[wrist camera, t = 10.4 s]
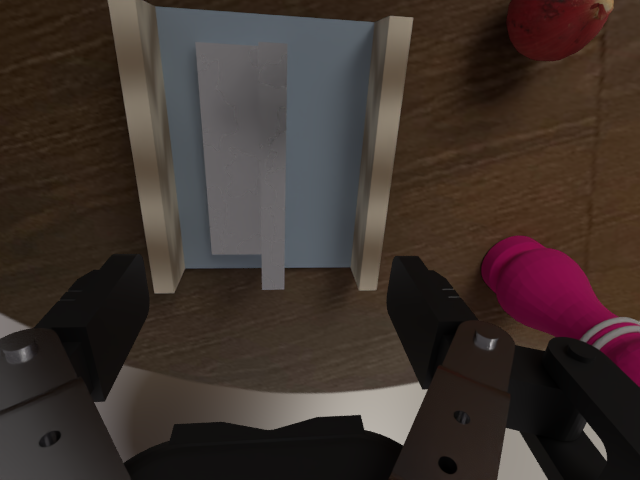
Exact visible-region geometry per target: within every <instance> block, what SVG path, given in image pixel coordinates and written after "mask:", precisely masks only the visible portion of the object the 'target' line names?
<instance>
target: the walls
mask: <svg viewBox="0 0 640 480" xmlns="http://www.w3.org/2000/svg"><path fill="white" fill-rule="evenodd" d="M108 4H109V10H110V17H111V23H112V29H113V35H114V42H115V48H116V54H117V61H118V67H119V73H120V79H121V86H122V92H123V98H124V105H125V111H126V117H127V123H128V130H129V136H130V142H131V149H132V155H133V161H134V167H135V174H136V180H137V186H138V193H139V199H140V205H141V211H142V218H143V224H144V230H145V237H146V243H147V249H148V256H149V262H150V268H151V274H152V281H153V287H154V293H175V290H176V288H177V286H178V283H179V281H180V279H181V277H182V274H183V272H184V270H185V262H184V254H183V245H182V236H181V227H180V219H179V210H178V201H177V193H176V184H175V175H174V166H173V158H172V149H171V140H170V131H169V123H168V114H167V105H166V96H165V88H164V79H163V70H162V61H161V53H160V44H159V35H158V27H157V18H156V9H155V6H153V5H151V4H149V3H147V2H145V1H143V0H108ZM412 23H413V18H412V17H398V16H388V17H386V18H384V19H381V20H379V21H377V22H375V23H374V33H373V43H372V53H371V63H370V73H369V84H368V94H367V104H366V114H365V124H364V135H363V145H362V155H361V165H360V175H359V186H358V196H357V206H356V216H355V226H354V236H353V247H352V257H351V270H352V273H353V275H354V278H355V281H356V284H357V286H358V289H359V290H376V289H377V282H378V274H379V267H380V260H381V252H382V245H383V237H384V230H385V223H386V215H387V208H388V200H389V193H390V186H391V178H392V171H393V164H394V156H395V149H396V141H397V134H398V127H399V119H400V112H401V104H402V97H403V90H404V82H405V75H406V67H407V60H408V53H409V45H410V38H411V31H412Z"/></svg>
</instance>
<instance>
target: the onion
mask: <svg viewBox="0 0 640 480" xmlns="http://www.w3.org/2000/svg"><path fill="white" fill-rule="evenodd" d="M613 1H614V0H511V2H510V4H509V8H508V14H507V21H506V24H507V29H508V34H509V38H510V41H511V42H512V44H513V45H514V47H515V48H516V50H517V51H518V52H519V53H521V54H522V55H524V56H526V57H528V58H529V59H532V60H536V61H556V60H561V59H563V58H565V57H567V56H569V55H572V54H574V53H576V52H578V51H579V50H581V49H582V48H583V47H584V46H585V45H586V44H588V43H589V42H590V41H591V40H592V39H593V38H594V37H595V36H596V35H597V34H598V33H599V31H600V30H601V28H602V27H603V25H604V23H605V22H606V20H607V18H608V16H609V14H610V12H611V11H612V10H613V9H614V7H613Z"/></svg>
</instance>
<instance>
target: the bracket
mask: <svg viewBox="0 0 640 480" xmlns="http://www.w3.org/2000/svg"><path fill="white" fill-rule="evenodd" d="M195 45H196V58H197V71H198V84H199V96H200V109H201V122H202V135H203V148H204V160H205V173H206V186H207V199H208V211H209V224H210V237H211V250H212V255H248V254H262V290H276V289H284V265H285V192H286V119H287V46H288V44H286V43H270V42H258V46H251V45H235V44H219V43H204V42H195Z"/></svg>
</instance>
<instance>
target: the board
mask: <svg viewBox="0 0 640 480" xmlns="http://www.w3.org/2000/svg"><path fill="white" fill-rule="evenodd" d="M155 9H156V18H157V27H158V35H159V44H160V53H161V61H162V70H163V79H164V88H165V96H166V105H167V114H168V123H169V131H170V140H171V149H172V158H173V166H174V175H175V184H176V193H177V201H178V210H179V219H180V227H181V236H182V245H183V254H184V262H185V268H262V254H248V255H212V250H211V237H210V224H209V211H208V199H207V186H206V173H205V160H204V148H203V135H202V122H201V109H200V96H199V84H198V71H197V58H196V45H195V42H204V43H219V44H235V45H251V46H258V42H270V43H286V44H288V46H287V119H286V192H285V265H284V268H314V267H351V257H352V247H353V236H354V226H355V216H356V206H357V196H358V186H359V175H360V165H361V155H362V145H363V135H364V124H365V114H366V104H367V94H368V84H369V73H370V63H371V53H372V43H373V33H374V23H375V22H363V21H349V20H335V19H321V18H307V17H293V16H280V15H266V14H252V13H238V12H224V11H211V10H197V9H183V8H169V7H155Z"/></svg>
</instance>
